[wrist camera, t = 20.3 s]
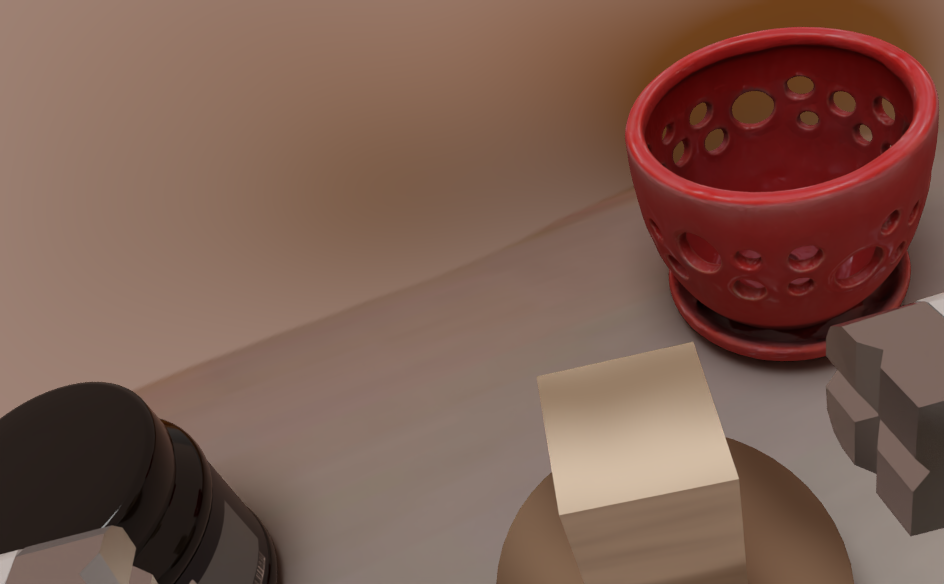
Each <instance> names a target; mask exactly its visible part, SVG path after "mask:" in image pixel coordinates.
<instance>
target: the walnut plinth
mask: <svg viewBox="0 0 944 584" xmlns="http://www.w3.org/2000/svg"><path fill="white" fill-rule="evenodd" d="M725 438H726V437H725ZM726 441H727V444H728V447H729V450H730V453H731V456H732V459H733V462H734V465H735V468H736V471H737V474H738V477H739V485H740V497H741V509H742V521H743V533H744V544H745V556H746V568H747V580H748V584H854V580H853V574H852V569H851V563H850V560H849V557H848V554H847V551H846V548H845V545H844V542H843V540H842V538H841V536H840V534H839V532H838V529H837V527H836V525H835V523H834V521H833V520H832V518H831V517H830V515H829V514H828V512H827V511H826V509H825V508H824V506H823V505H822V503H821V502H820V501H819V500H818V498H817V497H816V496H815V495H814V494H813V493H812V491H811V490H810V489H809V488H808V487H807V486H806V485H805V484H804V483H803V482H802V481H801V480H800V479H799V478H798V477H796V476H795V475H794V474H793V473H792V472H791V471H790V470H788V469H787V468H785V467H784V466H783V465H781V464H780V463H778V462H777V461H776V460H774V459H773V458H771V457H769V456H767V455H766V454H764V453H762V452H760V451H758V450H757V449H755V448H753V447H750V446H748V445H745V444H743V443H741V442H738V441H736V440H733V439H729V438H726ZM496 584H584V581H583V579H582V576H581V573H580V570H579V568H578V565H577V562H576V560H575V557H574V554H573V552H572V549H571V546H570V543H569V541H568V538H567V535H566V533H565V530H564V527H563V525H562V522H561V519H560V516H559V512H558V506H557V499H556V493H555V487H554V481H553V475H552V473H550V474H549V475H548V476H547V477H546V478H545V479H544V480H543V481H542V482H541V483H540V484H539V485H538V486H537V487H536V489H535V490H534V491H533V492H532V493H531V494H530V496H529V497H528V498H527V500H526V501H525V503H524V504H523V505H522V507H521V508H520V510H519V512H518V514H517V515H516V517H515V519H514V521H513V523H512V525H511V527H510V529H509V532H508V534H507V537H506V539H505V542H504V545H503V548H502V552H501V556H500V561H499V565H498V573H497V583H496Z"/></svg>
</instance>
